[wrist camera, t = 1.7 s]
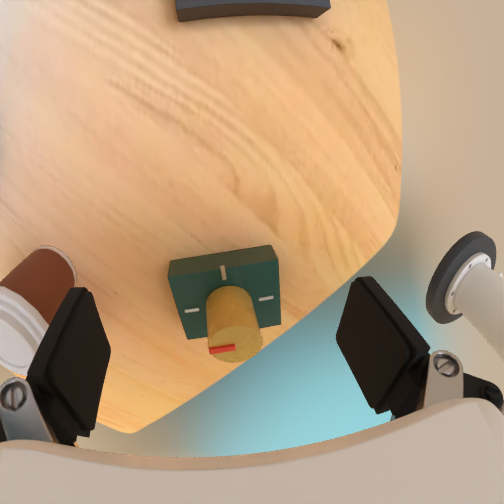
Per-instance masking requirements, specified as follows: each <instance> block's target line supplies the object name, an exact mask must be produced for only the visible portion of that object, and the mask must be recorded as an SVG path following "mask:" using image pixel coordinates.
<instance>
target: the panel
mask: <svg viewBox="0 0 504 504" xmlns="http://www.w3.org/2000/svg"><path fill="white" fill-rule="evenodd" d="M168 280H169V283H170V287H171V290H172V293H173V297H174V300H175V303H176V306H177V309H178V313H179V316H180V319H181V322H182V325H183V328H184V331H185V334H186V337H187V339H188V340H189V339H196V338H203V337H208V335H207V317H206V301H207V298H208V296H209V295H210V294H211V293H212V292H213V291H214V290H216V289H218V288H220V287H223V286H238V287H241V288H243V289H244V290H246V291H247V292H248V293H249V295H250V296H251V299H252V303H253V307H254V310H255V314H256V318H257V322H258V325H259V328H265V327H270V326H275V325H280V324H281V309H280V285H279V264H278V258H277V256H276V254H275V252H274V250H273V248H272V246H271V245H267V246H260V247H254V248H248V249H241V250H235V251H229V252H222V253H216V254H210V255H203V256H197V257H191V258H185V259H178V260H172V261H170V267H169V273H168Z"/></svg>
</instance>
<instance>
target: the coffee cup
mask: <svg viewBox="0 0 504 504" xmlns="http://www.w3.org/2000/svg"><path fill="white" fill-rule="evenodd" d="M76 281H77V275H76V271H75V267H74V266H73V264H72V262H71V261H70V259H69V257H67V256H66V255H65V254H64V253H63V252H62V251H61V250H59V249H57V248H55V247H52V246H41V247H39V248H37V249H36V250H34V251H33V253H31V254H30V255H29V256H28V257H27V258H26V259H25V260H23V261H22V262H21V263H20V264H19V265H18V266H17V267H16V268H15V269H13V270H12V271H11V272H10V273H9V274H8V275H7V276H6V277H5V278H4V279H3V280H2V281H1V282H0V364H1V365H2V366H4V367H5V368H7V369H9V370H11V371H12V372H14V373H17V374H21V375H25V376H27V371H28V369H29V367H30V364H31V362H32V360H33V358H34V356H35V353H36V351H37V349H38V347H39V345H40V343H41V341H42V339H43V337H44V335H45V333H46V331H47V329H48V327H49V325H50V323H51V321H52V319H53V317H54V316H55V314H56V312H57V310H58V308H59V306H60V305H61V303H62V301H63V299H64V298H65V296H66V294H67V292H68V291H69V289H70V288H71V287H76Z"/></svg>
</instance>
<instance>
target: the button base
mask: <svg viewBox="0 0 504 504" xmlns="http://www.w3.org/2000/svg"><path fill="white" fill-rule="evenodd" d="M175 2H176V12H177V15H178V19H179V22H184V21H190V20H198V19H206V18H215V17H227V16H246V15H282V16H301V17H313V18H317V17H319V16H320V15H322V14H323V13H324V12H326V11H327V10H329V9H330V8H331V6H330V1H329V0H175Z"/></svg>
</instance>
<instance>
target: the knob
mask: <svg viewBox="0 0 504 504" xmlns="http://www.w3.org/2000/svg"><path fill="white" fill-rule="evenodd" d="M206 317H207V335H208V348H209V352H210V354H212V355H213V356H214V357H215V358H217V359H219V360H221V361H224V362H241V361H245V360H247V359H250V358H251V357H253V356H254V355H256V354H257V353H258V352H259V350H260V349H261V346H262V336H261V333H260V329H259V325H258V322H257V318H256V314H255V310H254V307H253V303H252V299H251V296H250V295H249V293H248V292H247V291H246V290H244V289H243V288H241V287H238V286H223V287H220V288H218V289H216V290H214V291H213V292H212V293H211V294H210V295H209V296H208V298H207V301H206Z"/></svg>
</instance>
